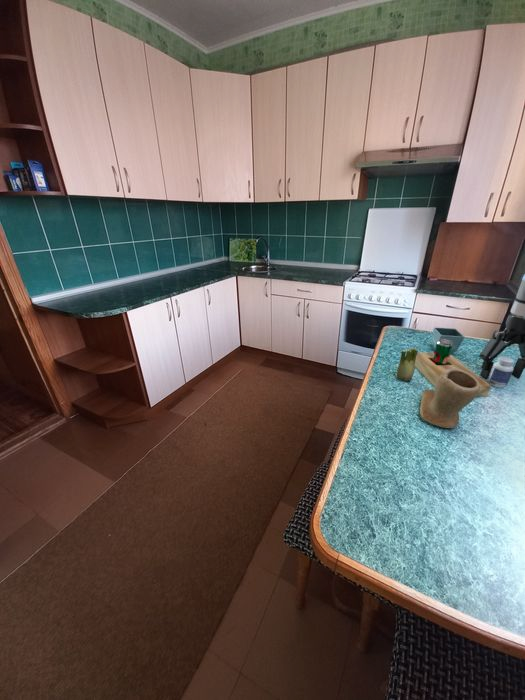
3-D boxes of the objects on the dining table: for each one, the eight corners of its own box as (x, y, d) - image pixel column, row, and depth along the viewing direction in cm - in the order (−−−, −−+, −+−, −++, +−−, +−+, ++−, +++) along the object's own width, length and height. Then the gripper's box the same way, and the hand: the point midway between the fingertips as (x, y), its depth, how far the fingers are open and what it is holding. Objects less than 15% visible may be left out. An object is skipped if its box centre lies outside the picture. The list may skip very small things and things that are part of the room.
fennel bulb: (395, 381, 103) (402, 350, 97) (394, 374, 107) (400, 344, 101) (413, 383, 101) (421, 353, 95) (411, 376, 105) (419, 346, 100)
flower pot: (450, 347, 125) (456, 328, 121) (458, 357, 117) (465, 336, 113) (428, 346, 127) (433, 327, 123) (435, 355, 119) (440, 335, 115)
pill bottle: (509, 389, 97) (520, 363, 93) (491, 387, 98) (502, 362, 93) (500, 380, 102) (511, 356, 97) (483, 379, 103) (493, 354, 98)
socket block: (444, 361, 115) (447, 352, 113) (487, 396, 94) (491, 386, 92) (410, 362, 114) (412, 353, 113) (445, 397, 93) (448, 387, 92)
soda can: (442, 375, 105) (451, 345, 100) (427, 370, 109) (435, 341, 103) (446, 370, 109) (455, 341, 103) (432, 365, 112) (440, 337, 106)
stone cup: (465, 438, 77) (483, 391, 71) (416, 422, 83) (428, 378, 76) (464, 407, 89) (480, 365, 82) (421, 395, 95) (433, 355, 88)
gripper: (550, 310, 92) (522, 370, 102) (479, 312, 92) (459, 372, 102) (573, 319, 85) (541, 382, 95) (497, 320, 85) (473, 384, 95)
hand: (499, 377), depth 99 cm, fingers open, 10 cm apart
